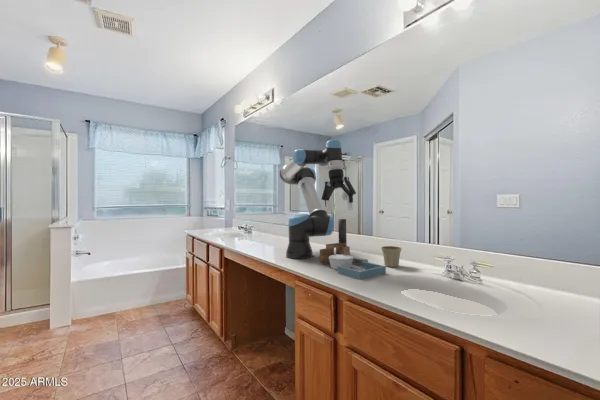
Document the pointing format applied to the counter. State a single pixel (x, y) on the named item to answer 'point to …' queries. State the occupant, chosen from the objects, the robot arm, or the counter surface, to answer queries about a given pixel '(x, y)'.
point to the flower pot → (391, 255)
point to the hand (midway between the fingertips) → (339, 211)
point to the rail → (358, 261)
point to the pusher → (336, 244)
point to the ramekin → (340, 261)
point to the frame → (370, 272)
